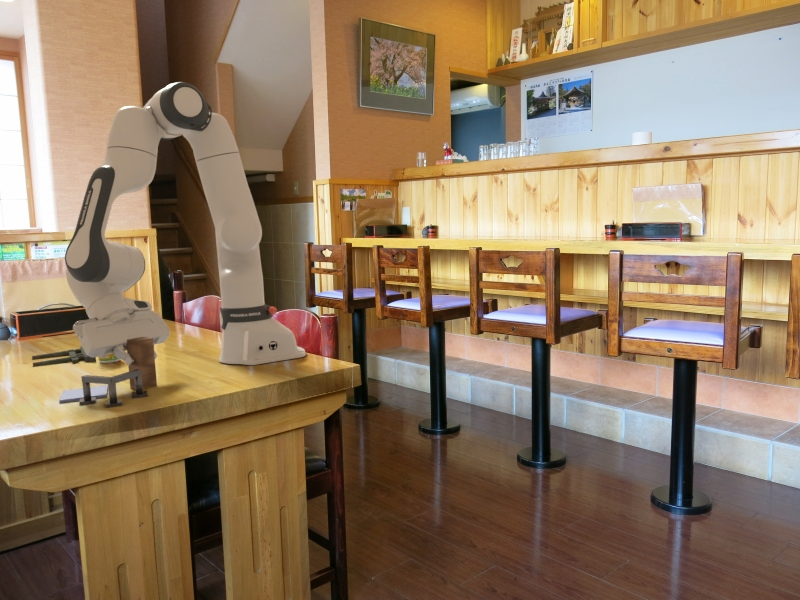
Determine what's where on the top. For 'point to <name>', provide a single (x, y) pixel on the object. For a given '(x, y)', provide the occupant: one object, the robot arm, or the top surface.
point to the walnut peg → (143, 360)
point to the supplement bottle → (108, 358)
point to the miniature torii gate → (74, 357)
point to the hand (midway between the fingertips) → (143, 361)
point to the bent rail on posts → (112, 387)
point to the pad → (78, 394)
